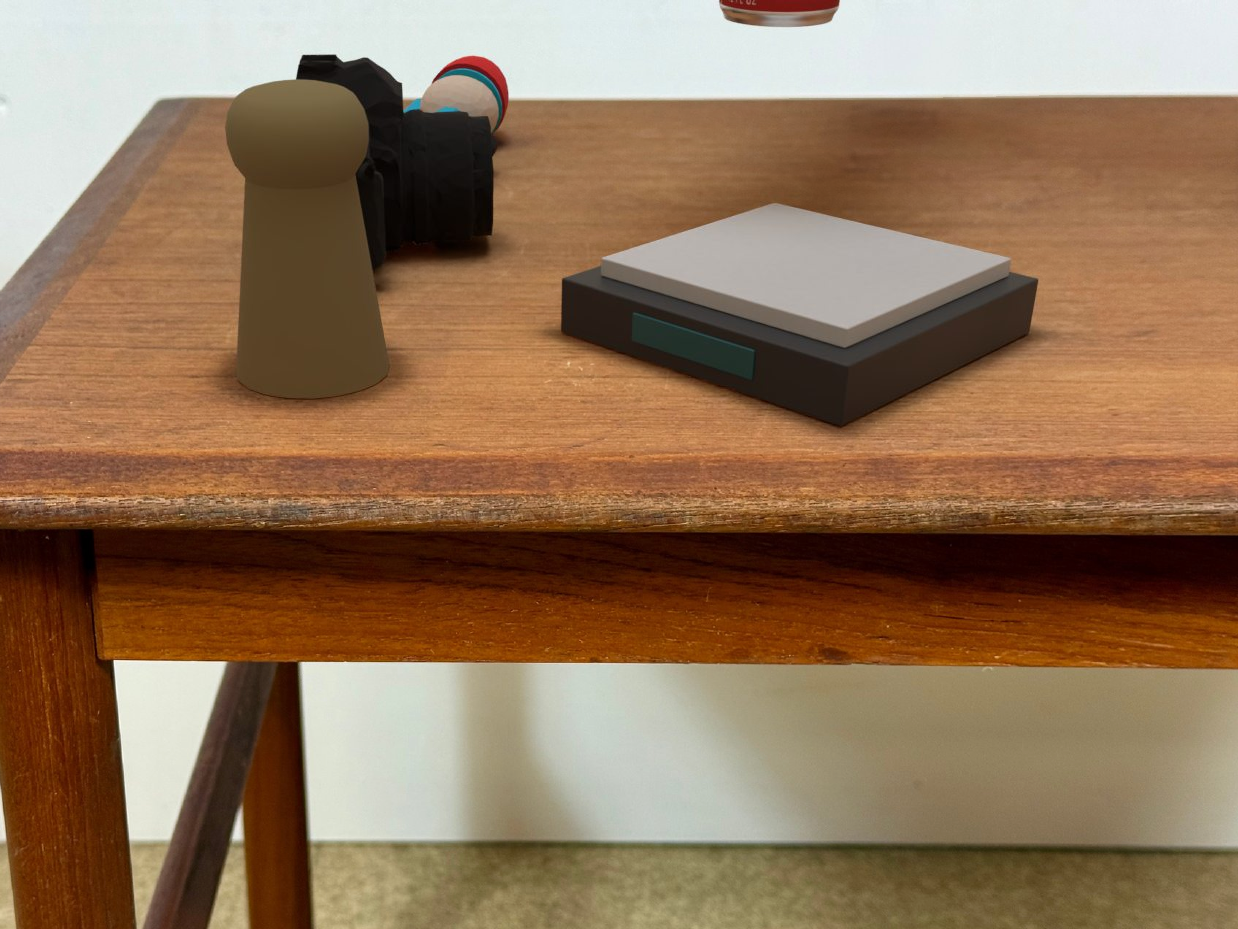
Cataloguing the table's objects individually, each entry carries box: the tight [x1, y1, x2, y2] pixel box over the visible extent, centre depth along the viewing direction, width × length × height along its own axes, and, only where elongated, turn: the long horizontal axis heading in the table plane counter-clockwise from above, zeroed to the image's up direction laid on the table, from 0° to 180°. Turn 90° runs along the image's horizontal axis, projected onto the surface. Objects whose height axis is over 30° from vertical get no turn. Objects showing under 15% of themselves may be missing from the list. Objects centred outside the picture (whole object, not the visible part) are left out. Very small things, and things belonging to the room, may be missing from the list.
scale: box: [560, 202, 1039, 427], centre depth 62 cm, size 14×14×3 cm
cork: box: [224, 79, 390, 400], centre depth 57 cm, size 6×6×11 cm
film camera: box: [295, 53, 495, 271], centre depth 71 cm, size 15×10×9 cm, turn 4°
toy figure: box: [403, 55, 510, 157], centre depth 89 cm, size 8×5×15 cm
